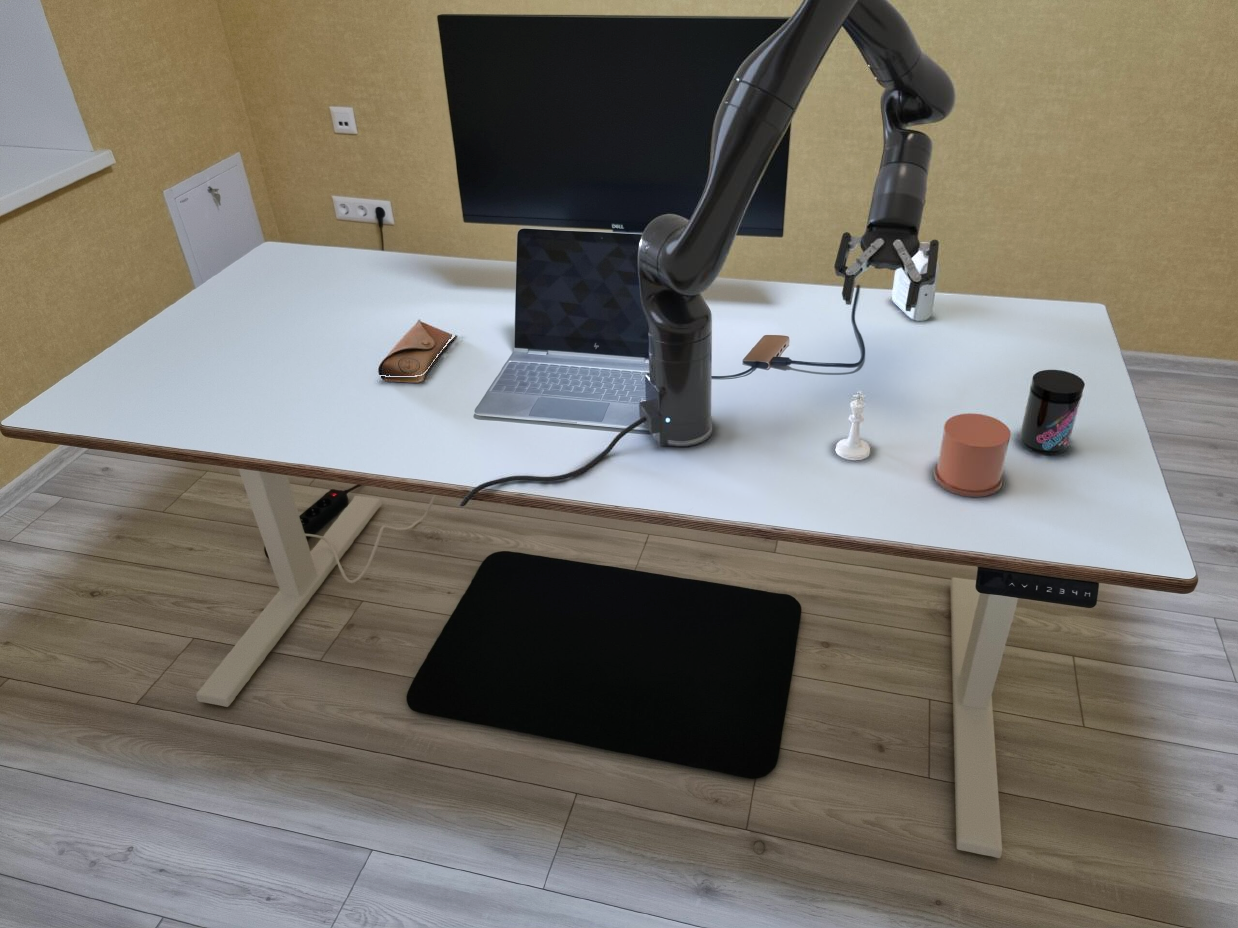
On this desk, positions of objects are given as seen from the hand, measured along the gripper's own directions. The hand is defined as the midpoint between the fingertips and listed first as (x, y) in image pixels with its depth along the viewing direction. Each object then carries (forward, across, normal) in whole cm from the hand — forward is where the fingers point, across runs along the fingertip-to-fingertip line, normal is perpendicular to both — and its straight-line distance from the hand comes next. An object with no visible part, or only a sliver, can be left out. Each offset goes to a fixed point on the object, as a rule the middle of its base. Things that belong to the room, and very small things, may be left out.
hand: (877, 306), depth 134 cm
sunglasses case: (+15, -78, +10) cm, 80 cm away
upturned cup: (+22, +16, +3) cm, 28 cm away
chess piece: (+21, 0, +4) cm, 21 cm away
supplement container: (+14, +26, +12) cm, 31 cm away
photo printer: (-14, +2, +40) cm, 43 cm away
